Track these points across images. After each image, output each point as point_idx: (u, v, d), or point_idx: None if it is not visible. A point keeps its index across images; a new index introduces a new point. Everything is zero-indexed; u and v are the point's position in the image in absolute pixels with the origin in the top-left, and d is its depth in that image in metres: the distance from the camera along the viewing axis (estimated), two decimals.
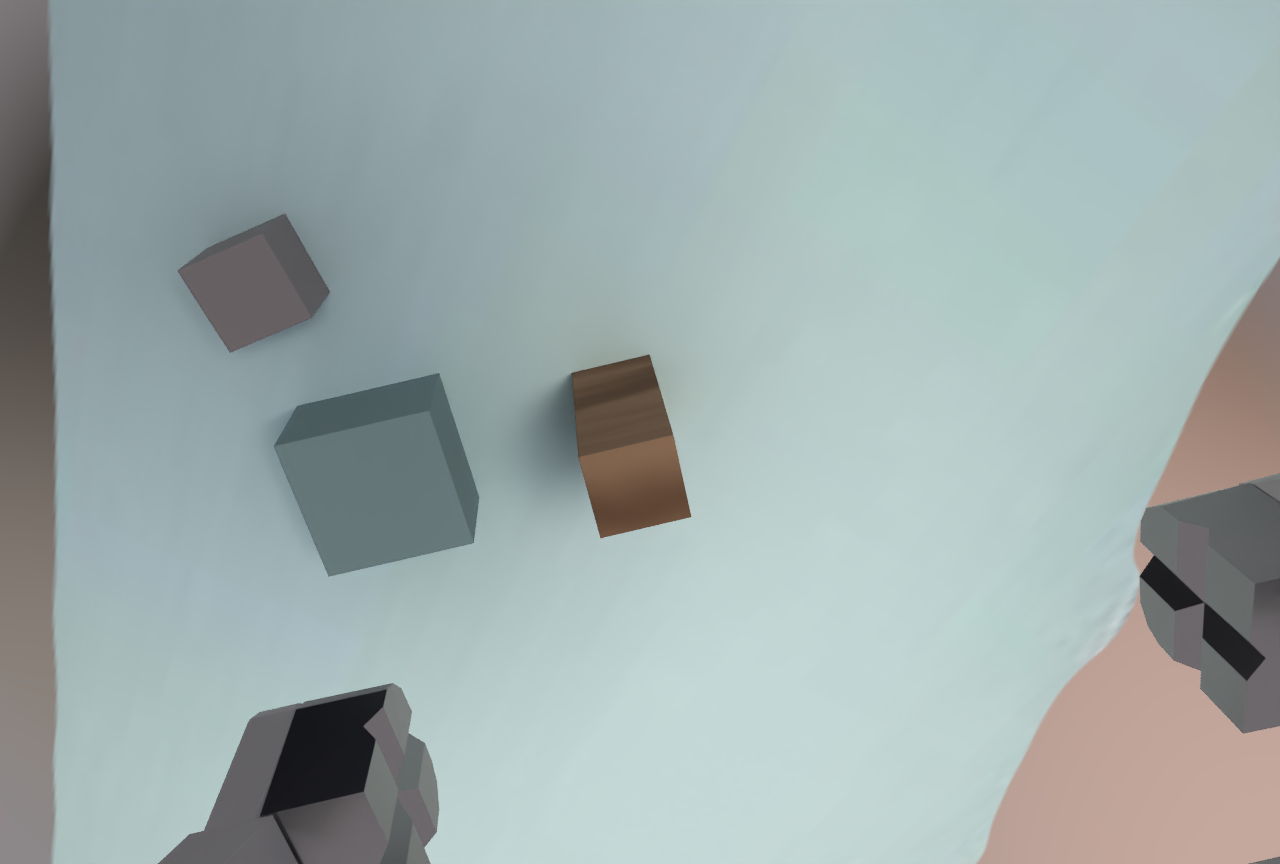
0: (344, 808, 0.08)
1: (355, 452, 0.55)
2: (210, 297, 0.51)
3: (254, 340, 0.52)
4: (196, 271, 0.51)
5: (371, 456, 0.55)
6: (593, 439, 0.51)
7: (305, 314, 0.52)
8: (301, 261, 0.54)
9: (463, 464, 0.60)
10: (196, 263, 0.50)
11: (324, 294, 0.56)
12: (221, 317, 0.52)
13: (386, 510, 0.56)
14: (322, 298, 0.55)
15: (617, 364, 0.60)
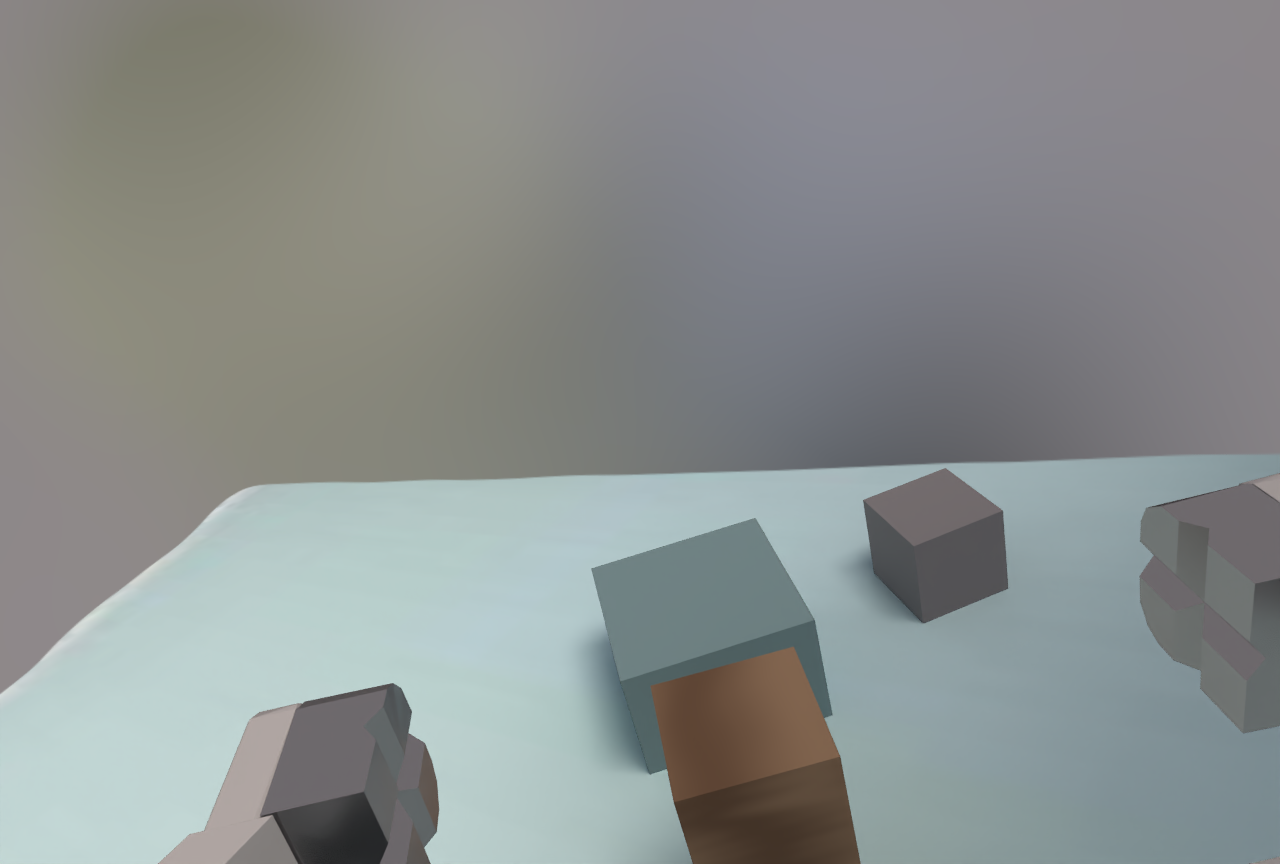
0: (344, 808, 0.08)
1: (751, 570, 0.47)
2: (921, 486, 0.51)
3: (879, 513, 0.50)
4: (947, 477, 0.51)
5: (747, 582, 0.46)
6: None
7: (916, 542, 0.47)
8: (962, 581, 0.49)
9: None
10: (956, 477, 0.51)
11: (924, 607, 0.49)
12: (901, 493, 0.51)
13: (674, 600, 0.46)
14: (922, 595, 0.48)
15: None
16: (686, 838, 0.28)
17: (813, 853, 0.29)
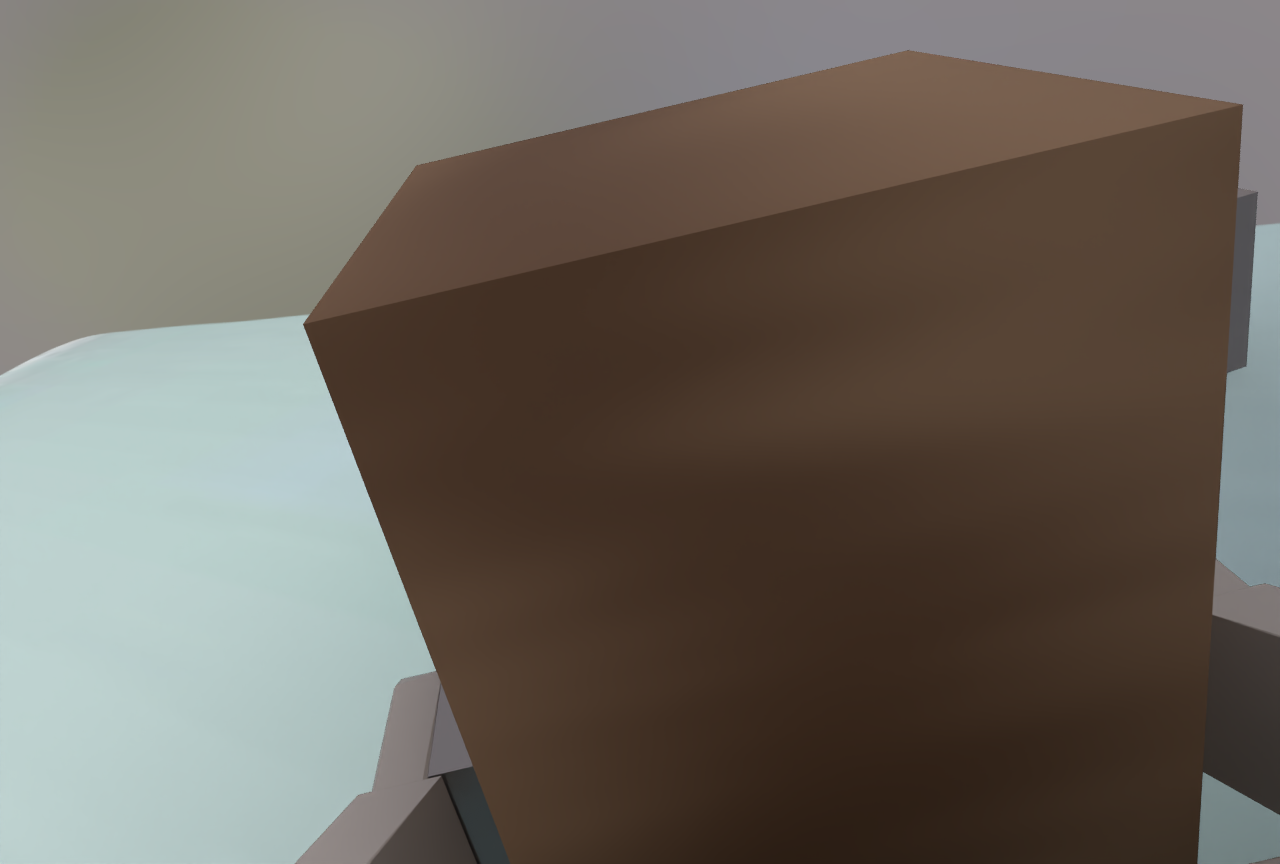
0: None
1: None
2: None
3: None
4: None
5: None
6: None
7: None
8: None
9: None
10: None
11: None
12: None
13: None
14: None
15: None
16: (406, 574, 0.06)
17: (1017, 706, 0.07)
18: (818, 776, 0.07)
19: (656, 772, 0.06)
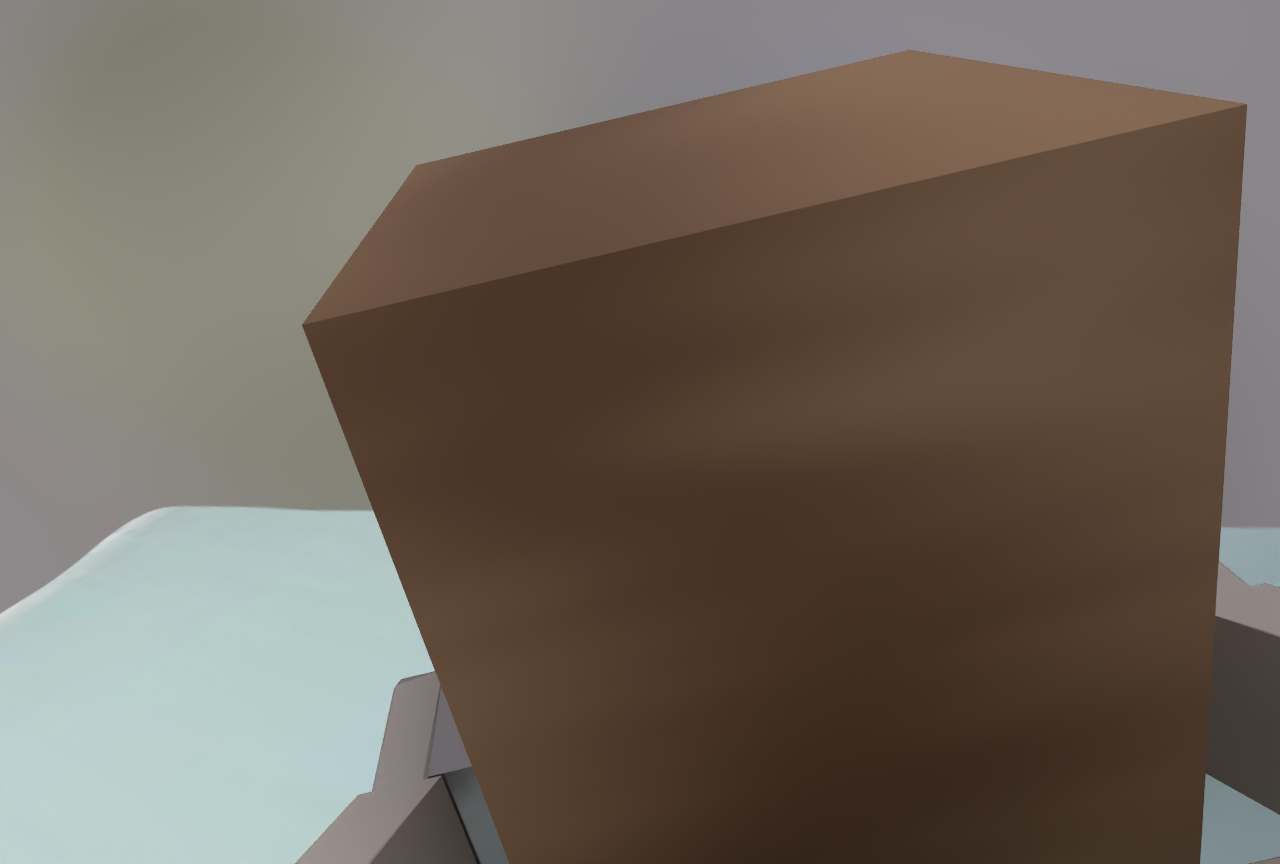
0: None
1: None
2: None
3: None
4: None
5: None
6: None
7: None
8: None
9: None
10: None
11: None
12: None
13: None
14: None
15: None
16: (405, 576, 0.06)
17: (1019, 710, 0.07)
18: (819, 779, 0.07)
19: (656, 774, 0.06)
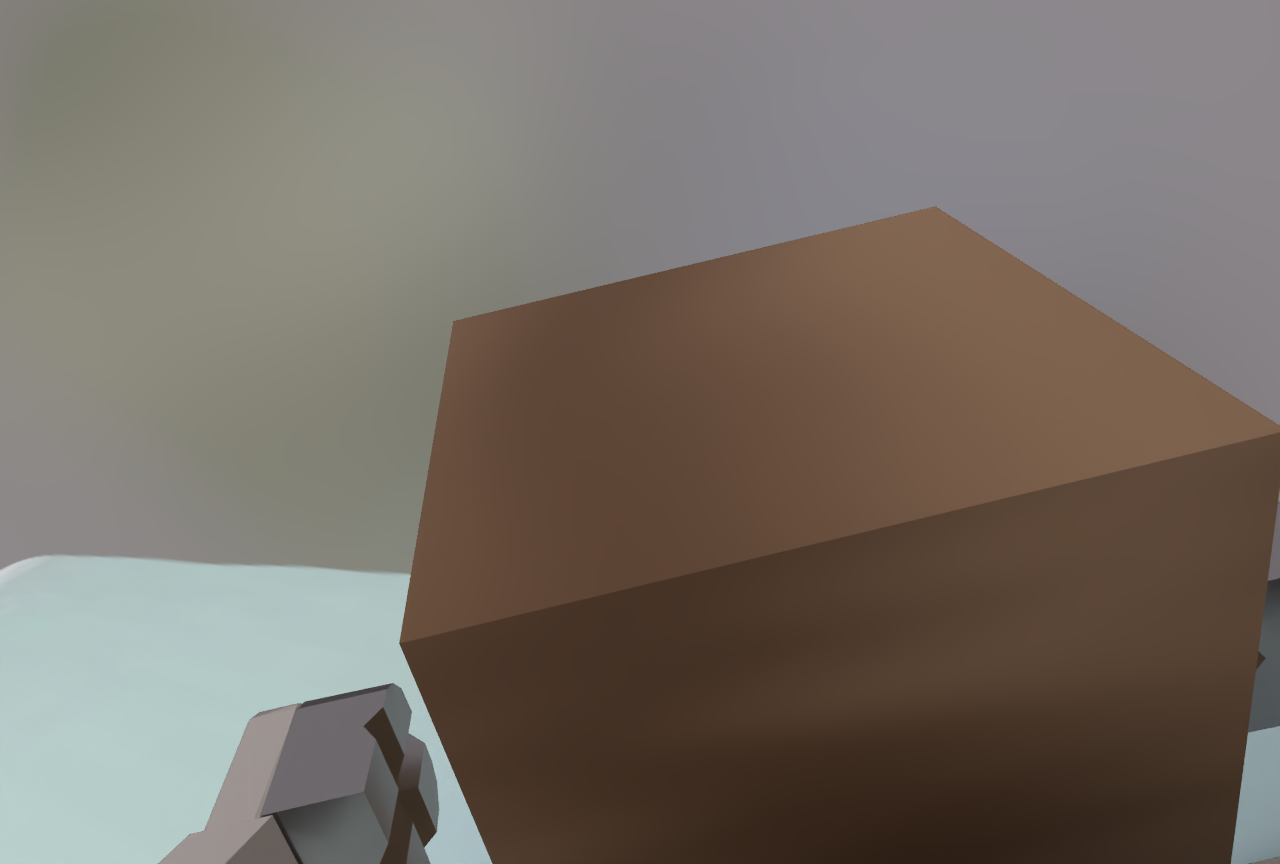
0: (344, 808, 0.08)
1: None
2: None
3: None
4: None
5: None
6: None
7: None
8: None
9: None
10: None
11: None
12: None
13: None
14: None
15: None
16: (487, 835, 0.06)
17: None
18: None
19: None
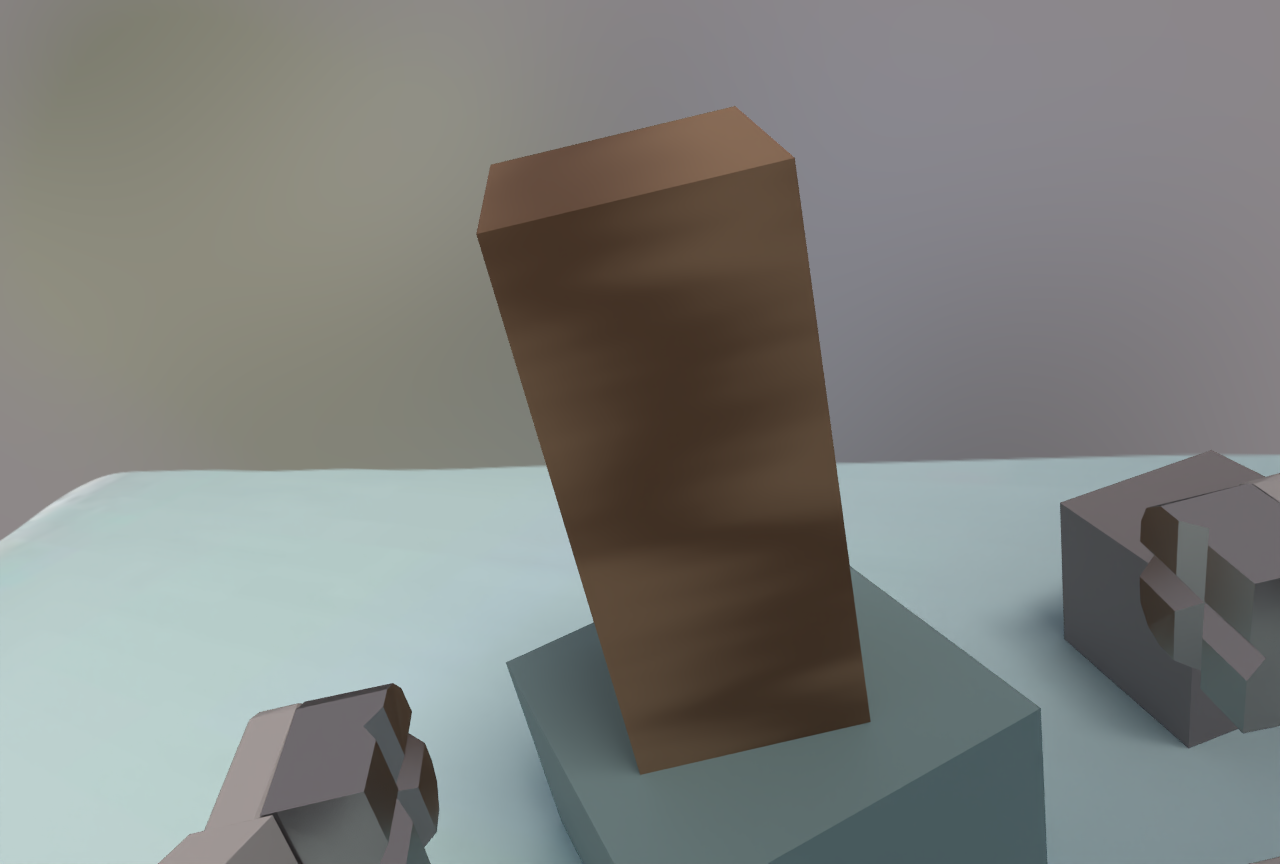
0: (344, 807, 0.08)
1: None
2: (1174, 480, 0.27)
3: (1099, 527, 0.26)
4: (1222, 466, 0.27)
5: None
6: None
7: None
8: None
9: None
10: (1240, 466, 0.27)
11: (1195, 717, 0.24)
12: (1135, 492, 0.27)
13: None
14: (1196, 693, 0.24)
15: None
16: (507, 328, 0.15)
17: (746, 392, 0.16)
18: (668, 422, 0.17)
19: (602, 417, 0.16)
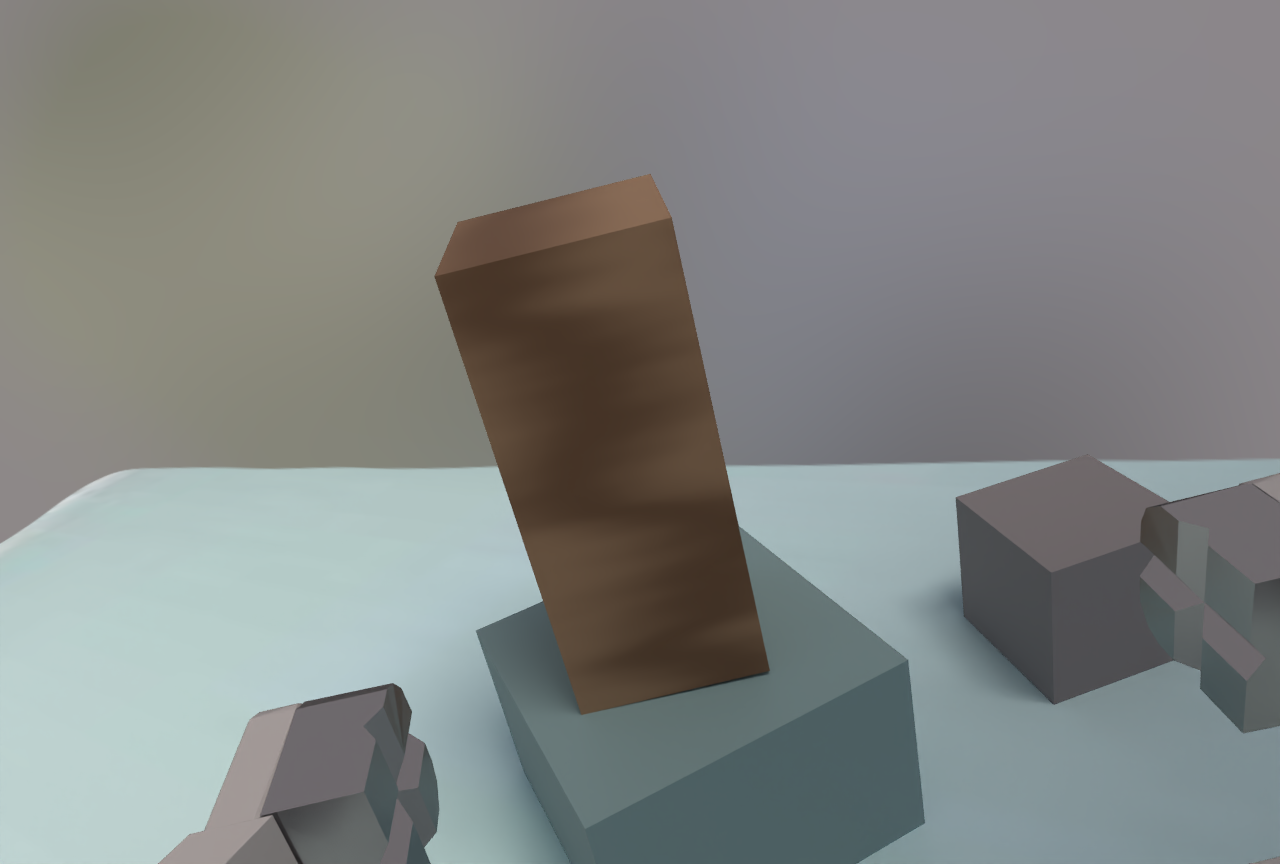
0: (344, 808, 0.08)
1: (758, 595, 0.28)
2: (1052, 479, 0.32)
3: (984, 517, 0.30)
4: (1094, 468, 0.32)
5: (759, 615, 0.27)
6: None
7: (1055, 565, 0.28)
8: (1124, 636, 0.29)
9: None
10: (1108, 468, 0.32)
11: (1058, 677, 0.29)
12: (1018, 489, 0.32)
13: None
14: (1057, 656, 0.29)
15: None
16: (460, 347, 0.20)
17: (647, 395, 0.21)
18: (587, 419, 0.21)
19: (536, 415, 0.21)
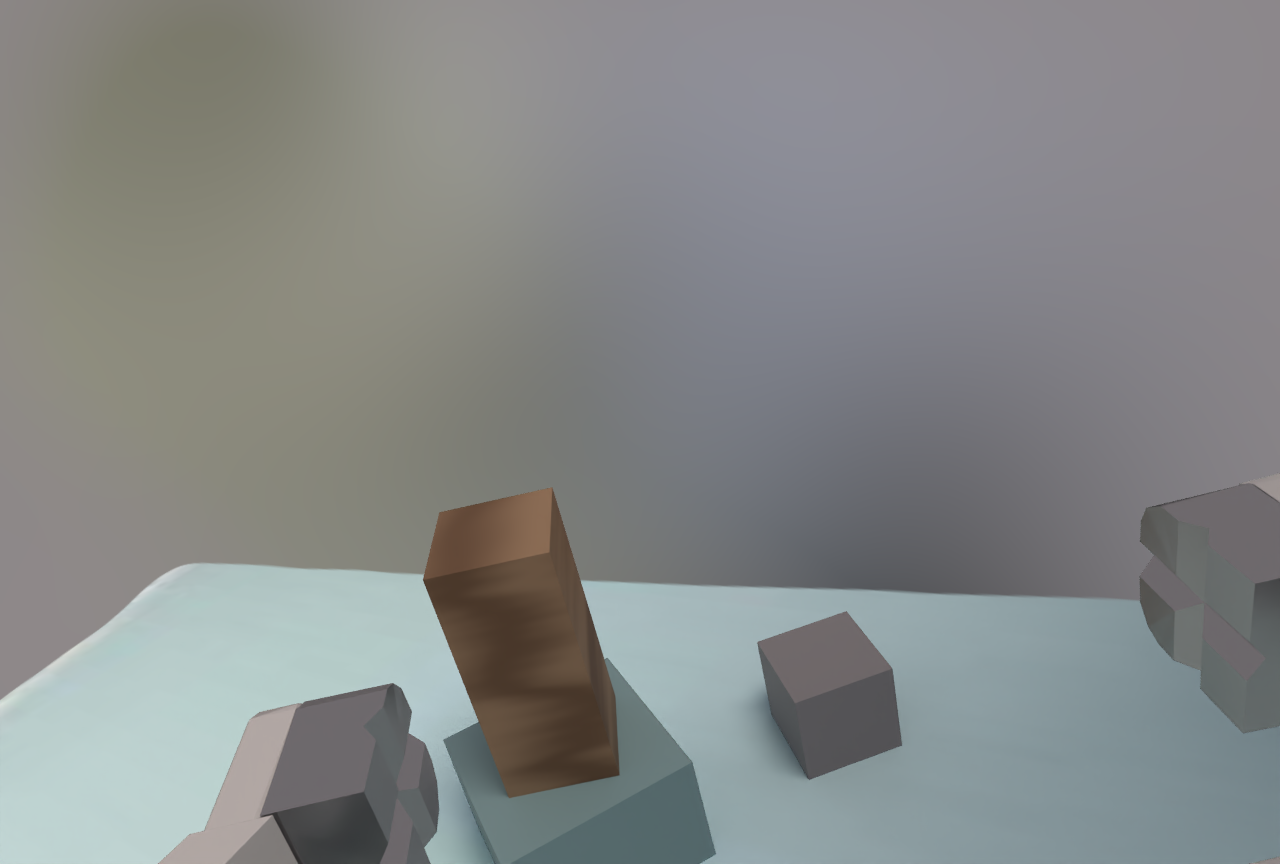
0: (344, 808, 0.08)
1: None
2: (818, 631, 0.49)
3: (769, 659, 0.48)
4: (846, 623, 0.49)
5: None
6: (561, 530, 0.41)
7: (798, 698, 0.45)
8: (850, 737, 0.47)
9: None
10: (854, 623, 0.49)
11: (809, 763, 0.47)
12: (796, 637, 0.49)
13: None
14: (806, 751, 0.46)
15: (615, 734, 0.44)
16: (436, 612, 0.38)
17: (540, 635, 0.38)
18: (507, 646, 0.38)
19: (478, 644, 0.38)
